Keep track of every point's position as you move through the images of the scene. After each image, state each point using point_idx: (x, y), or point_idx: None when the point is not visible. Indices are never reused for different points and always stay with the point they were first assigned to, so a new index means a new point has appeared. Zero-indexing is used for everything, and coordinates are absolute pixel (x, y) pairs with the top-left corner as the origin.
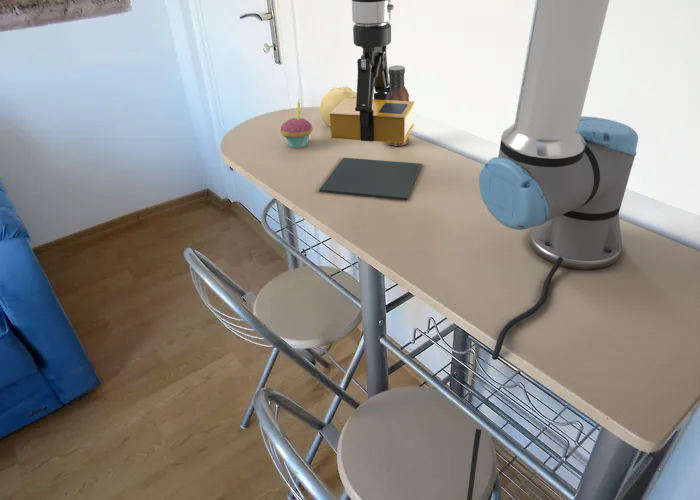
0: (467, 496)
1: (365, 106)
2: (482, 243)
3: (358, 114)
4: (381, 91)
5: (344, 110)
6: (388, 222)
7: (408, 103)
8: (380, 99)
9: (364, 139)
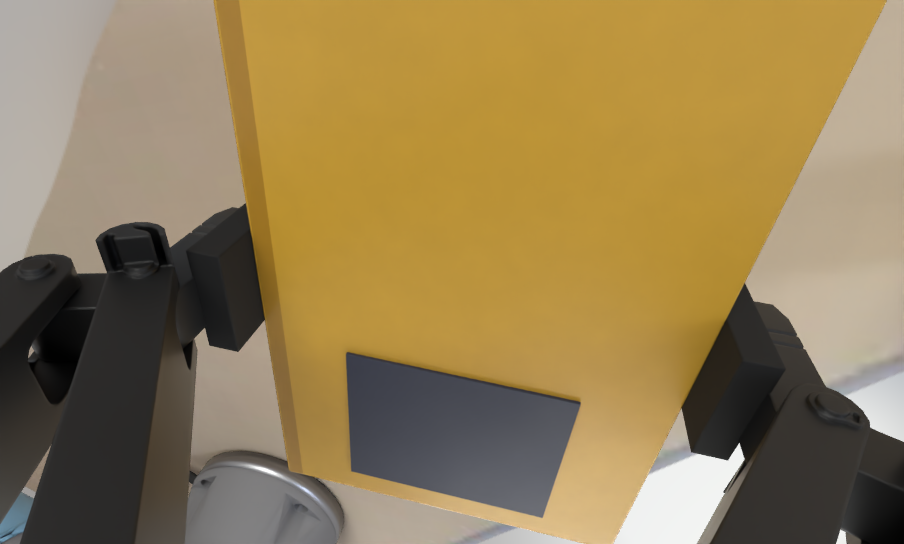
0: None
1: (35, 355)
2: (224, 384)
3: (260, 208)
4: (750, 441)
5: (335, 41)
6: (228, 189)
7: (562, 520)
8: (701, 373)
9: None
